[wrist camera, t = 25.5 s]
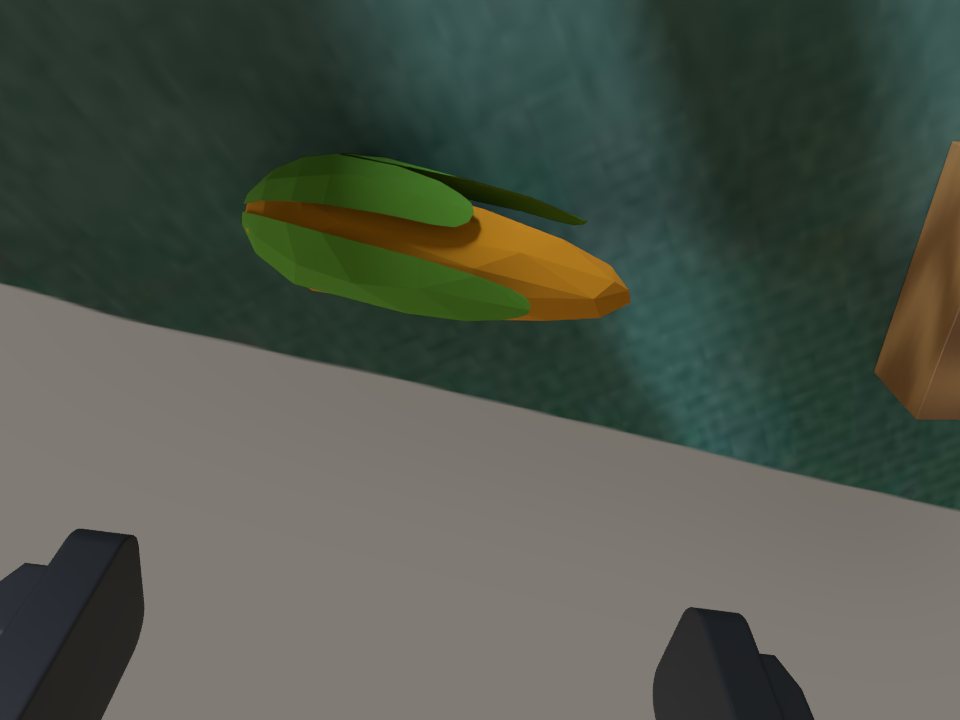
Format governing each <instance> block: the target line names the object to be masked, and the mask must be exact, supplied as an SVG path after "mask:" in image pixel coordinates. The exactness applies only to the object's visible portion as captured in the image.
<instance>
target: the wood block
mask: <svg viewBox="0 0 960 720" xmlns="http://www.w3.org/2000/svg"><path fill="white" fill-rule="evenodd" d="M874 373H875V374H876V375H877V376H878V377H879V378H880V379H881V381H882V382H883V383H884V384H885V385H886V386H887V387H888V389H889V390H890V391H891V392H892V393H893V394H894V395H895V396H896V398H897V399H898V400H899V401H900V402H901V403H902V404H903V405H904V407H905V408H906V409H907V410H908V411H909V412H910V413H911V414H912V416H913V417H914V418H915V419H916V420H960V141H953V142H952V143H951V146H950V149H949V152H948V155H947V158H946V161H945V164H944V167H943V170H942V173H941V176H940V179H939V182H938V185H937V188H936V191H935V194H934V196H933V199H932V202H931V205H930V208H929V211H928V214H927V217H926V220H925V223H924V226H923V229H922V232H921V235H920V238H919V241H918V244H917V247H916V250H915V253H914V255H913V258H912V261H911V264H910V267H909V270H908V273H907V276H906V279H905V282H904V285H903V288H902V291H901V294H900V297H899V300H898V303H897V306H896V309H895V312H894V314H893V317H892V320H891V323H890V326H889V329H888V332H887V335H886V338H885V341H884V344H883V347H882V350H881V353H880V356H879V359H878V362H877V365H876V368H875V371H874Z"/></svg>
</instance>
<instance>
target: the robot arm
mask: <svg viewBox="0 0 960 720" xmlns="http://www.w3.org/2000/svg"><path fill="white" fill-rule="evenodd" d="M143 617H144V597H143V587H142V577H141V566H140V556H139V546H138V541H137V538H136V537H135V536H134V535H127V534H119V533H111V532H103V531H96V530H88V529H76V530H75V531H73V532H72V533H71V534H70V535H69V536H68V538H67V539H66V540H65V541H64V543H63V545H62V546H61V547H60V549H59V550H58V552H57V553H56V555H55V556H54V558H53V559H52V560H51V562H50V563H49V565H48V566H45V565H38V564H30V563H24V564H23V565H22V566H20V567H19V568H18V569H16V570H15V571H13V572H12V573H11V574H9V575H8V576H7V577H5V578H4V579H3V580H1V581H0V720H101V719H102V717H103V715H104V712H105V711H106V708H107V706H108V704H109V702H110V700H111V698H112V696H113V694H114V692H115V690H116V688H117V686H118V683H119V681H120V679H121V677H122V675H123V673H124V671H125V669H126V667H127V665H128V663H129V660H130V658H131V656H132V654H133V652H134V650H135V647H136V645H137V642H138V639H139V635H140V632H141V628H142V623H143ZM653 706H654V712H655V718H656V720H814V718H813V715H812V713H811V711H810V708H809V705H808V703H807V701H806V698H805V696H804V694H803V691H802V689H801V688H800V687H799V685H798V684H797V683H796V682H795V680H794V679H793V678H792V677H791V675H790V674H789V673H788V671H787V670H786V669H785V668H784V666H783V665H782V664H781V663H780V661H779V660H778V659H777V658H776V656H774V655H767V654H759V651H758V648H757V646H756V643H755V641H754V638H753V635H752V633H751V631H750V628H749V625H748V623H747V621H746V620H745V618H744V617H743V616H742V615H741V614H739V613H732V612H725V611H717V610H709V609H701V608H693V607H690V608H688V609H686V610H685V612H684V613H683V615H682V617H681V619H680V621H679V623H678V625H677V627H676V630H675V631H674V634H673V636H672V638H671V640H670V642H669V644H668V646H667V648H666V650H665V652H664V654H663V656H662V658H661V661H660V662H659V664H658V667H657V669H656V672H655V677H654V683H653Z"/></svg>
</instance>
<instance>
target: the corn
mask: <svg viewBox="0 0 960 720" xmlns="http://www.w3.org/2000/svg"><path fill="white" fill-rule="evenodd" d="M467 199H469V200H473V201H478V202H482V203H487V204H491V205H496V206H500V207H505V208H509V209H514V210H518V211H522V212H526V213H529V214H533V215H536V216H540V217H544V218H547V219H551V220H554V221H558V222H562V223H567V224H571V225H582V224H585V223H586V222H587V221H585V220H583V219H580V218H578V217H576V216H574V215H571V214H569V213H567V212H565V211H562V210H560V209H557V208H555V207H553V206H550V205H548V204H546V203H543V202H541V201H539V200H536V199H534V198H532V197H529V196H525V195H521V194H518V193H514V192H511V191H507V190H504V189H500V188H496V187H493V186H489V185H486V184H482V183H479V182H475V181H471V180H468V179H464V178H461V177H457V176H453V175H449V174H445V173H442V172H438V171H434V170H430V169H427V168H423V167H419V166H415V165H411V164H408V163H404V162H400V161H396V160H392V159H389V158H382V157H373V156H364V155H354V154H345V153H342V154H327V155H318V156H308V157H303V158H300V159H298V160H295V161H293V162H290V163H288V164H285V165H283V166H280V167H278V168H275V169H273V170H272V171H271V172H270V173H269V174H268V175H267V176H266V177H265V178H263V179H262V180H261V181H260V182H259V183H258V184H257V185H256V186H255V187H254V188H253V189H252V190H251V191H250V192H249V193H248V194H247V196H246V199H245V201H244V203H243V204H245V203H247V207H246V212H242V226H243V228H244V230H245V232H246V234H247V236H248V238H249V240H250V242H251V244H252V246H253V249H254V251H255V253H256V254H257V255H258V256H260V257H261V258H262V259H263V260H265V261H266V262H267V263H268V264H270V265H271V266H272V267H273V268H274V269H276V270H277V271H278V272H279V273H281V274H282V275H283V276H284V277H286V278H287V279H288V280H289V281H291V282H292V283H293V284H296V285H299V286H303V287H307V288H309V289H310V290H312V291H318V292H325V293H330V294H334V295H338V296H342V297H345V298H349V299H353V300H357V301H361V302H365V303H368V304H372V305H376V306H380V307H384V308H388V309H391V310H395V311H399V312H403V313H407V314H414V315H422V316H430V317H437V318H445V319H453V320H460V321H489V320H528V321H553V320H570V319H587V318H601V317H603V316H605V315H607V314H609V313H611V312H613V311H615V310H617V309H619V308H621V307H623V306H625V305H627V304H629V303H630V296H629V290H628V288H627V287H626V286H625V284H624V283H623V282H622V280H621V279H620V278H619V276H618V275H617V274H616V272H615V271H614V269H613V268H612V267H611V266H610V265H609V264H607V263H605V262H603V261H601V260H600V259H598V258H596V257H594V256H592V255H591V254H589V253H587V252H585V251H583V250H582V249H580V248H578V247H576V246H574V245H573V244H571V243H569V242H567V241H565V240H563V239H561V238H558V237H555V236H553V235H550V234H548V233H545V232H542V231H540V230H537V229H535V228H532V227H529V226H527V225H524V224H522V223H519V222H516V221H514V220H511V219H509V218H506V217H503V216H501V215H498V214H496V213H493V212H490V211H488V210H485V209H482V208H479V207H475V206H472V203H471V202H469V201H468V200H467Z"/></svg>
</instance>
